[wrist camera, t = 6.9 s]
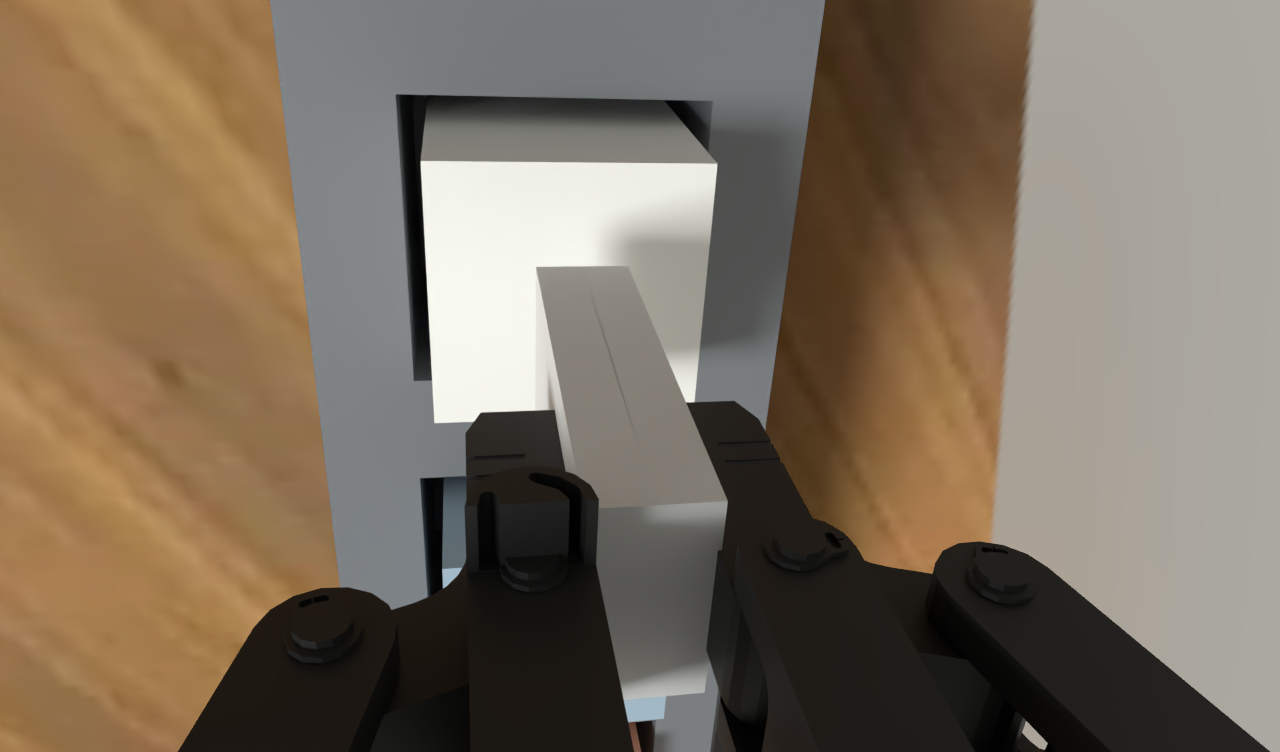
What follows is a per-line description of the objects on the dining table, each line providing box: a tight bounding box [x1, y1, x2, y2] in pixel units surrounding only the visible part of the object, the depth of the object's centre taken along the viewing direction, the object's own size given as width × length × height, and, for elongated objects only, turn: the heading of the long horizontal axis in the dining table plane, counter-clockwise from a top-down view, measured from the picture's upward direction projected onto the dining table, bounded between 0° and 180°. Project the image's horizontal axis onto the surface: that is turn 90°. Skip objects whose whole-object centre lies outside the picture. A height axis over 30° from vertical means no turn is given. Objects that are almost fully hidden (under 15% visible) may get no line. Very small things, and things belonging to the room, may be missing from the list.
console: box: [270, 0, 825, 752], centre depth 26 cm, size 28×10×6 cm, turn 177°
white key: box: [421, 95, 717, 423], centre depth 19 cm, size 5×5×5 cm
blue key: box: [442, 476, 666, 722], centre depth 23 cm, size 5×5×5 cm
